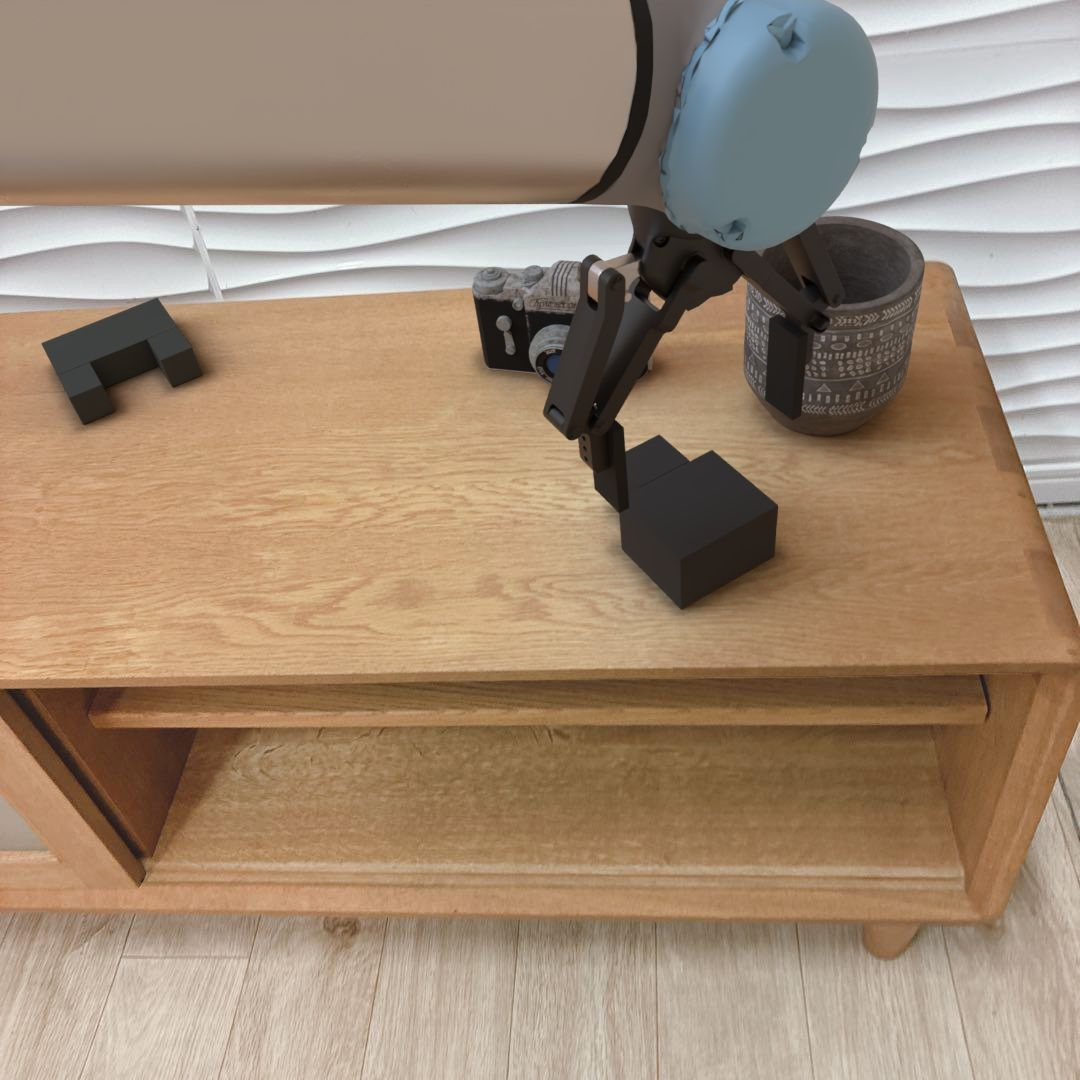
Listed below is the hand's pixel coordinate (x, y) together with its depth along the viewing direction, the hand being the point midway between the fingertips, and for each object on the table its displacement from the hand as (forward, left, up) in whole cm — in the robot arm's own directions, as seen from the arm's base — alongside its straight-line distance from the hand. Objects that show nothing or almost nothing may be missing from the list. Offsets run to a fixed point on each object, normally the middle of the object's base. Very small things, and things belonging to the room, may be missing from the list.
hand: (699, 452), depth 69 cm
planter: (+17, +7, -10) cm, 21 cm away
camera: (+3, +23, -10) cm, 25 cm away
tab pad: (0, +2, -9) cm, 9 cm away
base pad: (-27, +49, -9) cm, 56 cm away
